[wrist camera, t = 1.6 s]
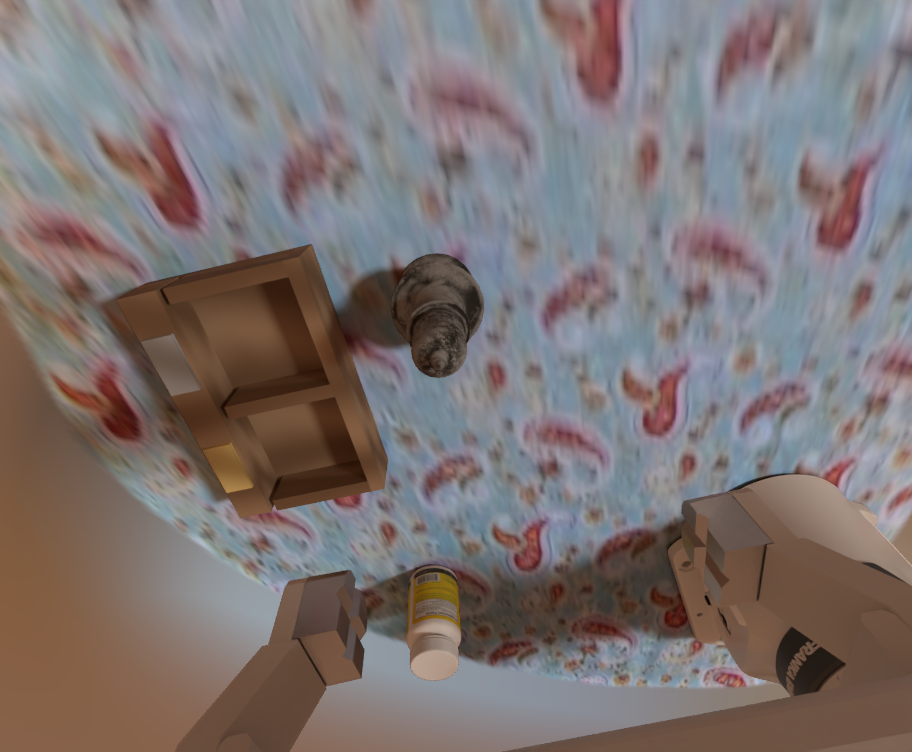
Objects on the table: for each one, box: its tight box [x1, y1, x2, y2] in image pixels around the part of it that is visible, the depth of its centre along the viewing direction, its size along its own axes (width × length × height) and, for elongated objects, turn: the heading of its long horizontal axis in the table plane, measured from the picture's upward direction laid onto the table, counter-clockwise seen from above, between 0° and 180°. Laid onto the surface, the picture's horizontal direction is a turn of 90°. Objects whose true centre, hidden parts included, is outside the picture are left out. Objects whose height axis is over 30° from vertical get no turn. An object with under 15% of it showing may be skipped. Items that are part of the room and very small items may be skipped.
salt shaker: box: [391, 253, 484, 378], centre depth 28 cm, size 6×6×12 cm
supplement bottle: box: [406, 565, 461, 681], centre depth 43 cm, size 5×5×8 cm
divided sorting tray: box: [116, 244, 388, 518], centre depth 34 cm, size 18×12×4 cm, turn 12°
